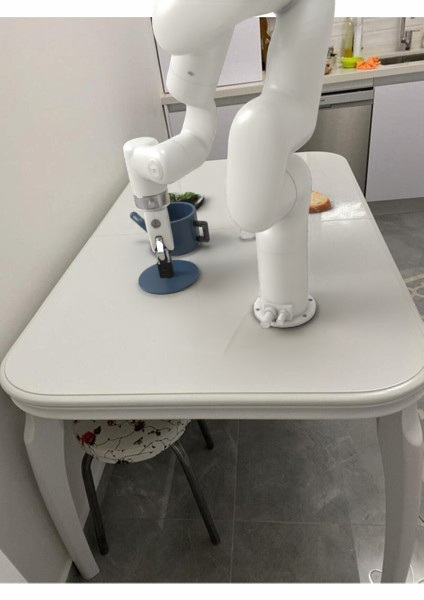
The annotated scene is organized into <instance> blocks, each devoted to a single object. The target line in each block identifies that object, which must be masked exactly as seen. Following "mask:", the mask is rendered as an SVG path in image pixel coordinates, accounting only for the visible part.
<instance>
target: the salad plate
mask: <svg viewBox="0 0 424 600" xmlns="http://www.w3.org/2000/svg"><path fill="white" fill-rule="evenodd" d="M168 193H169V198H170V203H171V202H186V203H191V204H192V205H194V206H195V208H196V210H197V209H199V208H200V207H201V206H202V204H203V203H204V200H205V196H204V194H202V193H200V192H192V191H186V192H184V191H172V192H168Z"/></svg>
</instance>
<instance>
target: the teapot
mask: <svg viewBox="0 0 424 600" xmlns="http://www.w3.org/2000/svg"><path fill="white" fill-rule="evenodd" d="M167 210H168V215H169V220H170V225H171V230H172V235H173V242H174V249H173V250H171V258H173V257H179V256H184V255H187V254H190V253H192V252H194V251H195V250H196V249H197V248H199V247H200V245H201V243H202V242H197V241H196V237H197V236H201V234H200V233H201V232H200V227H195V226H194V221H195V220H198V214H197V209H196V208H195V206H194V205H192V204H191V203H186V202H171V203H170V204H169V205H168V206H167ZM148 241H149V242H150V240H149V239H148ZM149 246H150V249H151V251H152V247H151V244H150V243H149ZM152 254H155V255H156V253H154V252H153V251H152Z"/></svg>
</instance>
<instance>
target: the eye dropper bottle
mask: <svg viewBox="0 0 424 600" xmlns="http://www.w3.org/2000/svg"><path fill="white" fill-rule="evenodd" d="M239 234H240V238H241V239H242V240H250V239H255V240H256V233H250V232H246V231H244V230H242V229H240V228H239Z"/></svg>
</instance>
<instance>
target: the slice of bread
mask: <svg viewBox="0 0 424 600" xmlns="http://www.w3.org/2000/svg"><path fill="white" fill-rule="evenodd" d="M332 206H333V205H332V203H331V202H330V199H329V198H328V197H327V196H326V195H324V194H322V193H319V192H318V191H315V190H312V193H311V200H310V207H309V214H313V213H314V214H315V213H321V212H326V211H328V210H330V209H331V208H332Z"/></svg>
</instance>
